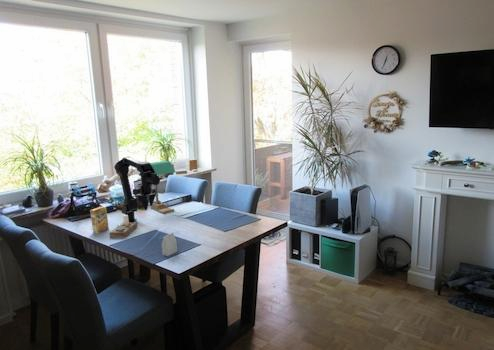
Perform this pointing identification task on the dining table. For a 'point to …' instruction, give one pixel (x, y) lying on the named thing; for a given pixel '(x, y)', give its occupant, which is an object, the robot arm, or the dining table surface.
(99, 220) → the candy box
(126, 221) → the cream dowel
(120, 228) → the grey metal stub
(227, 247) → the dining table surface
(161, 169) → the banker's lamp
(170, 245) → the tea bag
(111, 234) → the walnut socket block
